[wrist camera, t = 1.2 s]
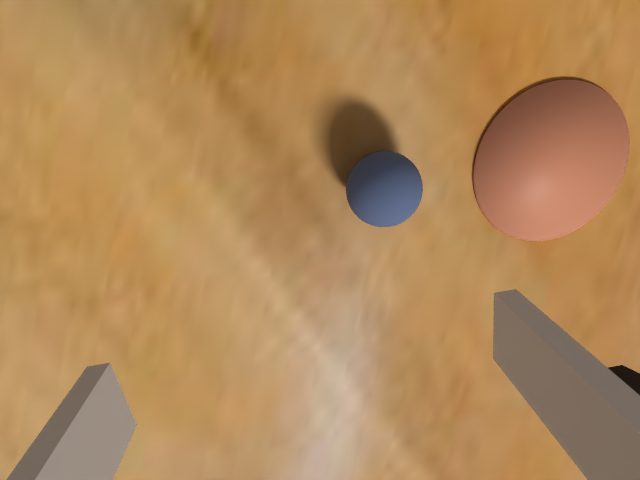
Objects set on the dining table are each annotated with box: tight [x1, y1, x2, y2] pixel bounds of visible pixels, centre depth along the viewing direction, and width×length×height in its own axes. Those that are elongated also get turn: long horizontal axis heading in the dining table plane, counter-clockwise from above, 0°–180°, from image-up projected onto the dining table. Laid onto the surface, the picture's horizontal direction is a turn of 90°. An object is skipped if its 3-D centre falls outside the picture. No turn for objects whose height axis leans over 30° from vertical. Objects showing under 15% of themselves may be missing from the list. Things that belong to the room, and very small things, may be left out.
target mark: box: [473, 80, 629, 241], centre depth 32 cm, size 13×13×1 cm
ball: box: [346, 151, 423, 227], centre depth 29 cm, size 6×6×6 cm
